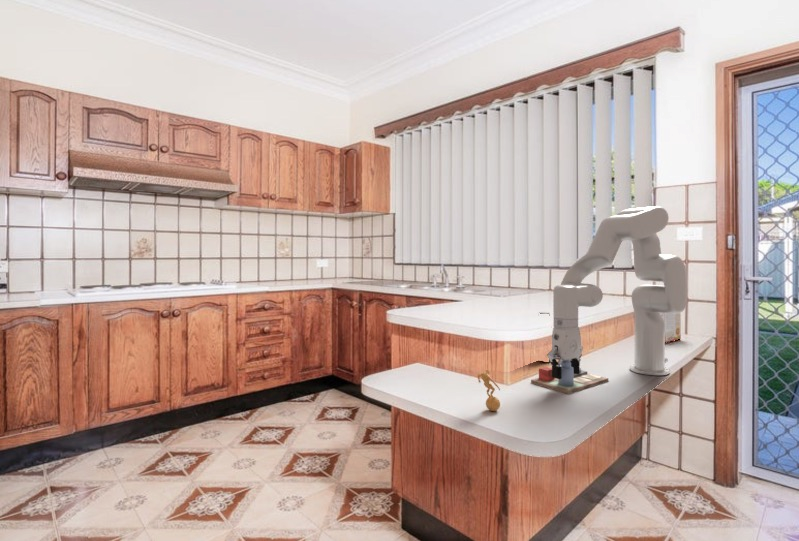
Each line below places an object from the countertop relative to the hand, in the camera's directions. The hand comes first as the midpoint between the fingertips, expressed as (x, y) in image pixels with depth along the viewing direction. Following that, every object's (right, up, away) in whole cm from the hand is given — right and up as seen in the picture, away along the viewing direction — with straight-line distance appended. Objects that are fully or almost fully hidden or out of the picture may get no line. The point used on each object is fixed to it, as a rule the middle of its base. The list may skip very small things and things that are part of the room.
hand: (565, 375), depth 140 cm
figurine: (-29, -6, -20) cm, 35 cm away
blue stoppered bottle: (0, -3, 0) cm, 3 cm away
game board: (+4, -4, +6) cm, 8 cm away
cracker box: (+74, 0, +67) cm, 100 cm away
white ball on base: (+7, -1, +12) cm, 14 cm away
